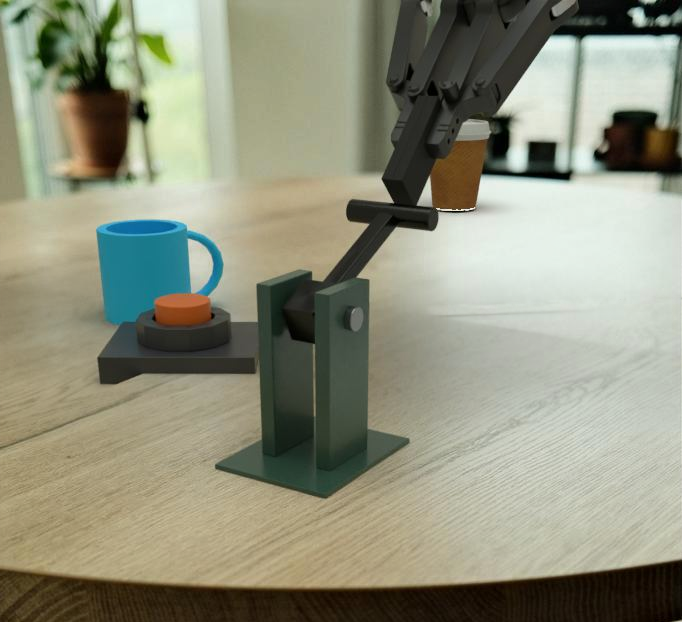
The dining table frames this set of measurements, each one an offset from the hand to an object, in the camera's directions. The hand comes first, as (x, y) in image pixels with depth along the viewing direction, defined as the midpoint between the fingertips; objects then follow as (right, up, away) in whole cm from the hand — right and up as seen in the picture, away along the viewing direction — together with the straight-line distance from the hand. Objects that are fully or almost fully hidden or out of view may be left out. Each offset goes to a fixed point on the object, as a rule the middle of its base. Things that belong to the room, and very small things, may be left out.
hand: (398, 193), depth 65 cm
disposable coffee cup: (+13, +24, +85) cm, 89 cm away
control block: (-16, -8, +18) cm, 26 cm away
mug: (-20, -1, +33) cm, 38 cm away
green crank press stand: (-5, -18, -1) cm, 18 cm away
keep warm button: (-16, -5, +17) cm, 24 cm away
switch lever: (-3, -6, -2) cm, 7 cm away
